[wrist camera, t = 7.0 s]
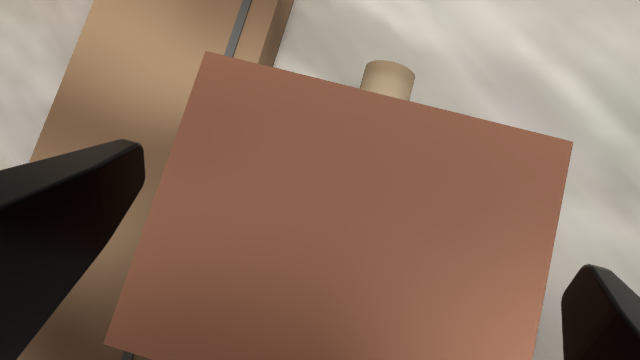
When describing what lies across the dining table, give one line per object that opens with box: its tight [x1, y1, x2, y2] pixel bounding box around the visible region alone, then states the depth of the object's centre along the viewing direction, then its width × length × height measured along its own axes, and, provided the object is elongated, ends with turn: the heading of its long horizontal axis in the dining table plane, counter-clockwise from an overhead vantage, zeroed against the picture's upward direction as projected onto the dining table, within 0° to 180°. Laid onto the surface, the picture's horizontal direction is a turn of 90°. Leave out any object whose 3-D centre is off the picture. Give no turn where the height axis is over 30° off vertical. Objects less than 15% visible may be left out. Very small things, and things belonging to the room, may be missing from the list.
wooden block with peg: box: [103, 51, 573, 360], centre depth 11 cm, size 8×5×11 cm, turn 164°
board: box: [17, 0, 294, 360], centre depth 16 cm, size 22×6×2 cm, turn 164°
